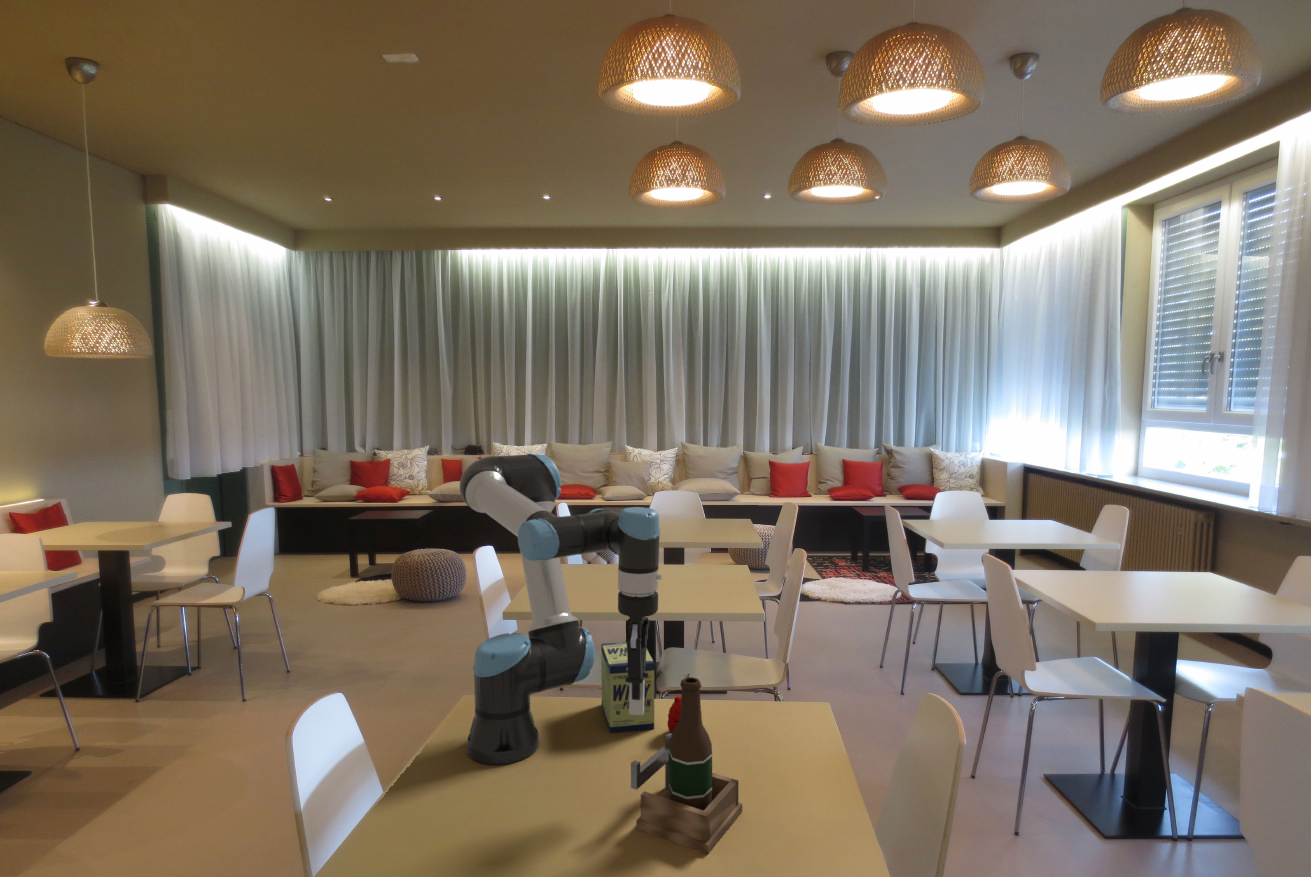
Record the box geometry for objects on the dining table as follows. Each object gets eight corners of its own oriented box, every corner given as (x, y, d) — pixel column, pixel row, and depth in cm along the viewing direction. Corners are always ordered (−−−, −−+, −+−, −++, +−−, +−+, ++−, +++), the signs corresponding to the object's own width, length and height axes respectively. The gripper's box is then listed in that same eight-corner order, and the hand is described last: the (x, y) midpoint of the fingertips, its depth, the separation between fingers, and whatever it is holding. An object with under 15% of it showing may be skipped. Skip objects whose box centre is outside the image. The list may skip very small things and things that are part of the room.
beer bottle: (709, 826, 124) (709, 690, 122) (664, 821, 125) (665, 687, 124) (714, 801, 131) (715, 673, 130) (672, 797, 133) (673, 670, 131)
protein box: (609, 734, 161) (609, 666, 160) (600, 704, 176) (600, 642, 175) (655, 729, 163) (655, 662, 162) (642, 701, 178) (642, 639, 177)
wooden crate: (626, 824, 127) (626, 767, 126) (668, 785, 140) (668, 732, 139) (708, 854, 119) (708, 792, 118) (744, 809, 131) (744, 753, 131)
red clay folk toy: (698, 726, 164) (698, 662, 163) (704, 741, 157) (705, 674, 156) (665, 728, 163) (665, 664, 162) (670, 743, 156) (670, 676, 155)
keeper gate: (636, 789, 126) (636, 765, 126) (630, 788, 127) (630, 763, 126) (668, 761, 136) (668, 738, 136) (663, 759, 137) (663, 736, 136)
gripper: (654, 602, 127) (652, 731, 129) (661, 582, 140) (659, 699, 142) (612, 600, 128) (611, 728, 130) (623, 580, 141) (622, 696, 143)
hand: (636, 712), depth 136 cm, fingers closed
